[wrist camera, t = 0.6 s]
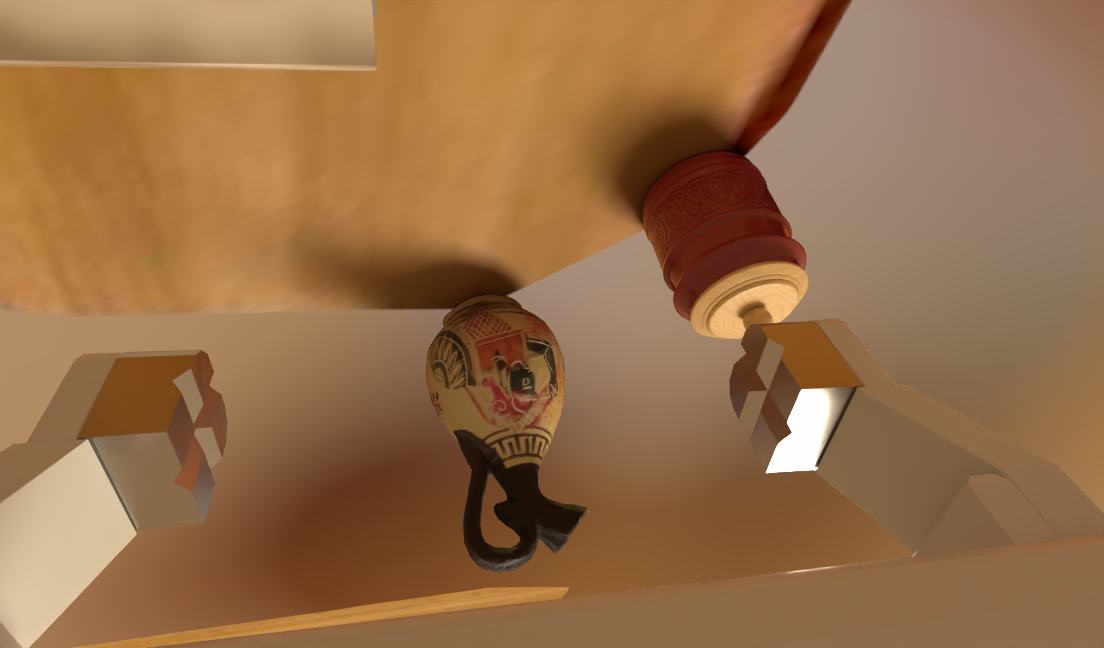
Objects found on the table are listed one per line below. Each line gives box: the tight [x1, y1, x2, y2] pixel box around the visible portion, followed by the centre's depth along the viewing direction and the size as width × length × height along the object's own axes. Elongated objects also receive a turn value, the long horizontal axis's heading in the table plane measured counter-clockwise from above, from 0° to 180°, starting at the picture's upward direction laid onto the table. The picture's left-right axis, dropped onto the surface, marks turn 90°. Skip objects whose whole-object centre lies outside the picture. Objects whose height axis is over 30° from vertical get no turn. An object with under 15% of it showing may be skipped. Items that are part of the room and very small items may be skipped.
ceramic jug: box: [426, 294, 588, 572], centre depth 71 cm, size 17×15×30 cm
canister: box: [642, 151, 808, 339], centre depth 66 cm, size 13×13×18 cm
